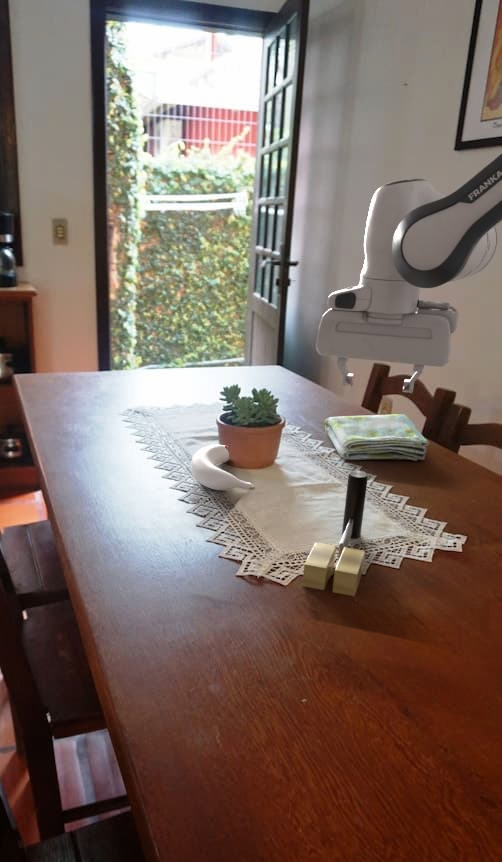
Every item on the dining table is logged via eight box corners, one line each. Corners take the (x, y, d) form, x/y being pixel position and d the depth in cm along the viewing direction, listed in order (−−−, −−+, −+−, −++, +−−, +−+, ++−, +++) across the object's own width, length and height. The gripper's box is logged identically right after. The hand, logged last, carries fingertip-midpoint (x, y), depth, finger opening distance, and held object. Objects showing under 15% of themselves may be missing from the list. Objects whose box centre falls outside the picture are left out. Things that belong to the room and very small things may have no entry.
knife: (343, 529, 106) (350, 469, 102) (361, 532, 106) (369, 472, 102) (329, 562, 96) (336, 497, 92) (349, 566, 96) (356, 500, 92)
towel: (341, 462, 138) (343, 438, 136) (323, 430, 158) (325, 409, 156) (429, 464, 139) (433, 440, 137) (400, 432, 159) (403, 410, 157)
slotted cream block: (319, 528, 110) (321, 502, 108) (388, 540, 106) (392, 514, 105) (282, 598, 90) (285, 568, 88) (367, 615, 86) (371, 584, 85)
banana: (209, 455, 140) (279, 464, 136) (176, 492, 124) (254, 504, 120) (209, 432, 138) (280, 441, 134) (176, 467, 121) (255, 479, 118)
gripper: (461, 301, 102) (446, 391, 108) (326, 291, 108) (318, 378, 114) (460, 305, 97) (444, 400, 102) (318, 295, 103) (310, 386, 108)
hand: (377, 388), depth 108 cm, fingers open, 8 cm apart
